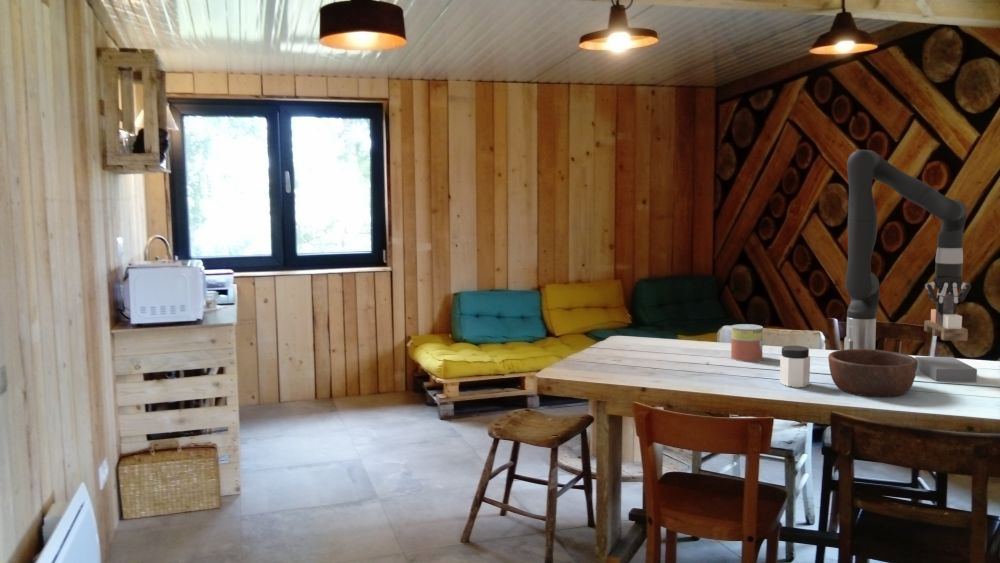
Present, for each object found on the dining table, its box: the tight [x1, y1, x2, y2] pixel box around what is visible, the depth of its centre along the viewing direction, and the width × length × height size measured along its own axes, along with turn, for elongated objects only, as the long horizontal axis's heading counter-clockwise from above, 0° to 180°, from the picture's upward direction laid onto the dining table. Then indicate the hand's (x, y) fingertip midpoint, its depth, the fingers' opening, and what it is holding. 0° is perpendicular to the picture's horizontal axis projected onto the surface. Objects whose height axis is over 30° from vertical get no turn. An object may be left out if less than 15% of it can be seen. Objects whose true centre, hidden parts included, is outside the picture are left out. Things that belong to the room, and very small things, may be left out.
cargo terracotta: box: [930, 308, 939, 323], centre depth 251 cm, size 4×4×4 cm
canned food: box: [730, 323, 764, 363], centre depth 282 cm, size 11×11×12 cm
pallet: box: [923, 293, 969, 342], centre depth 246 cm, size 7×16×14 cm, turn 170°
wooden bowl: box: [827, 349, 918, 398], centre depth 236 cm, size 25×25×10 cm
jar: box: [779, 345, 811, 388], centre depth 243 cm, size 9×8×12 cm
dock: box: [914, 356, 978, 383], centre depth 251 cm, size 12×18×4 cm, turn 171°
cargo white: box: [943, 313, 963, 329], centre depth 241 cm, size 4×4×4 cm
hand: (946, 313), depth 246 cm, fingers closed on pallet, 3 cm apart
